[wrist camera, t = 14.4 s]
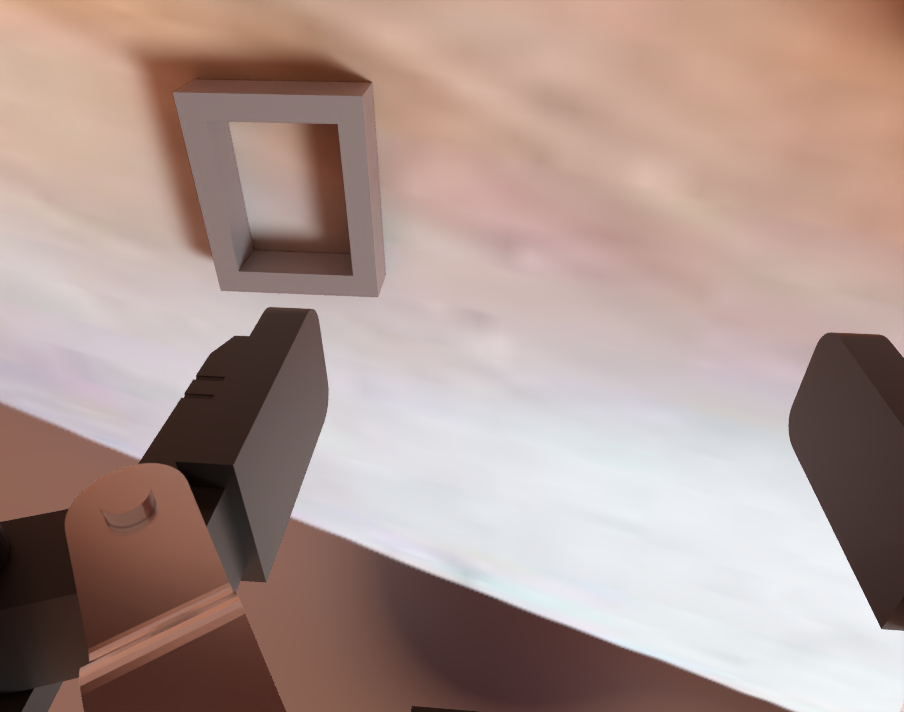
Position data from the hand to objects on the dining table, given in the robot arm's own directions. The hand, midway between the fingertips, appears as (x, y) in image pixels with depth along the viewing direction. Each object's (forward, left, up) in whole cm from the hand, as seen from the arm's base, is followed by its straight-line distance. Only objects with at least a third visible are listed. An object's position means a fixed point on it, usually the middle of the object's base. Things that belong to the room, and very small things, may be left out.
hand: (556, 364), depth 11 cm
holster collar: (+14, +9, -30) cm, 34 cm away
